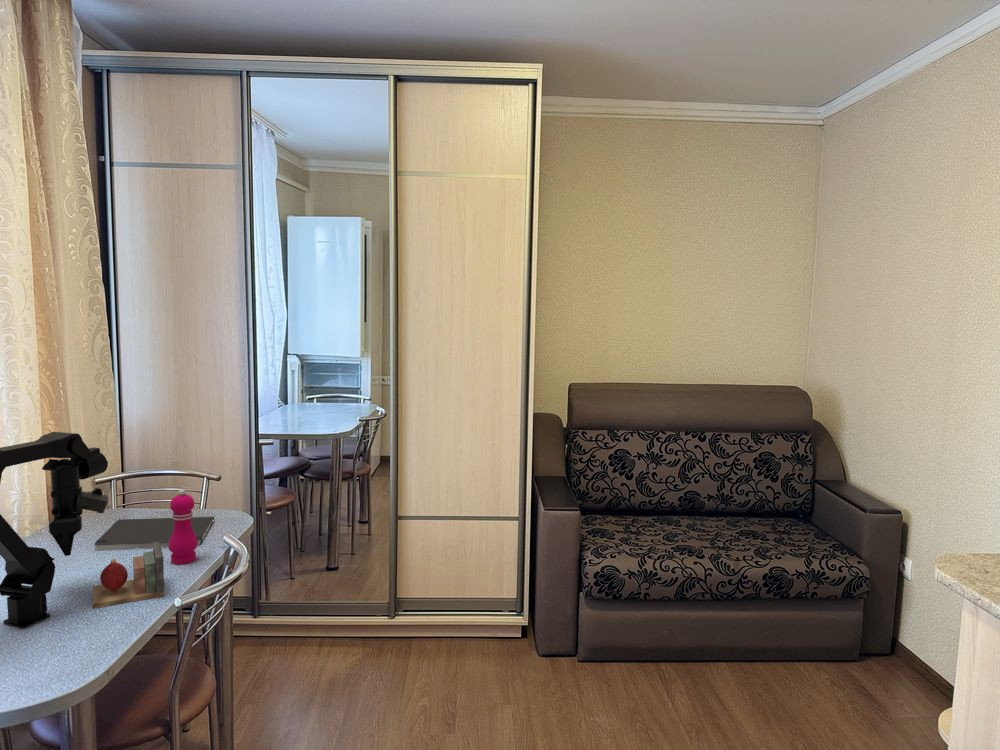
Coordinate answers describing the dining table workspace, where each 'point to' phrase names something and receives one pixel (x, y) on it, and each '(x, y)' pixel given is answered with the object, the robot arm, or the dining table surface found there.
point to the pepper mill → (182, 530)
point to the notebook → (147, 532)
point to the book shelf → (118, 595)
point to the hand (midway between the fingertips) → (68, 548)
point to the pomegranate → (113, 576)
